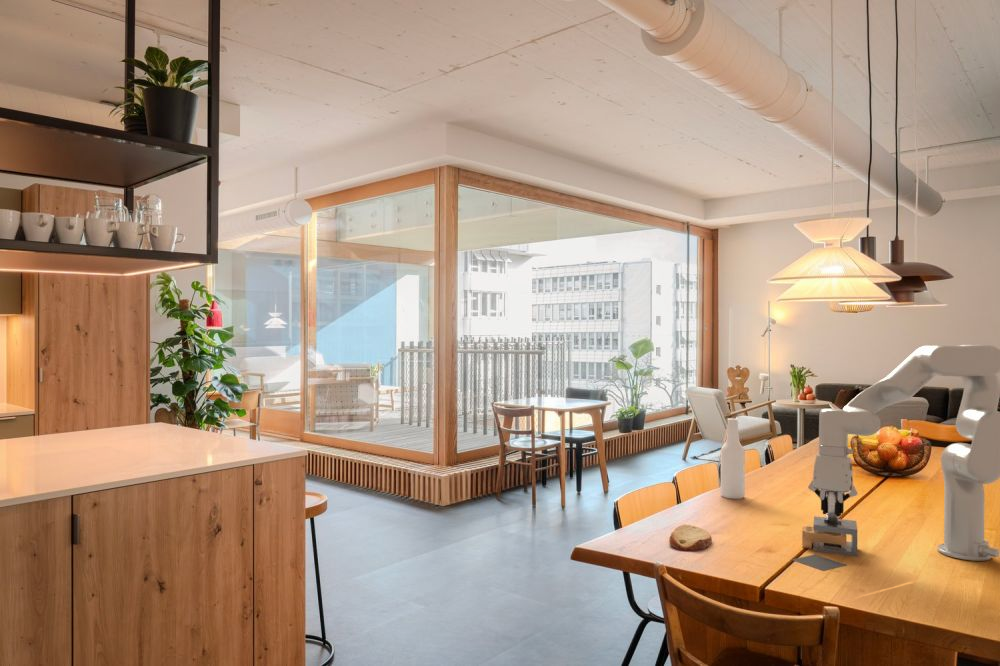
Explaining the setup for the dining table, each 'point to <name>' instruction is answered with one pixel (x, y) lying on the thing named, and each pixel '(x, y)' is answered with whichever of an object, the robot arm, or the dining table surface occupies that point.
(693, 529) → the slice of bread
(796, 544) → the dining table surface
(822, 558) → the mat
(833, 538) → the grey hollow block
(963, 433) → the robot arm
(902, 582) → the dining table surface
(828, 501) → the pin
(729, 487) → the alcohol
